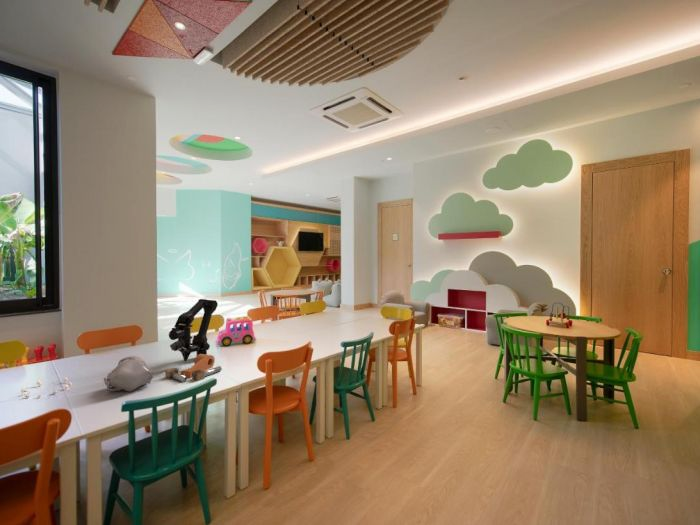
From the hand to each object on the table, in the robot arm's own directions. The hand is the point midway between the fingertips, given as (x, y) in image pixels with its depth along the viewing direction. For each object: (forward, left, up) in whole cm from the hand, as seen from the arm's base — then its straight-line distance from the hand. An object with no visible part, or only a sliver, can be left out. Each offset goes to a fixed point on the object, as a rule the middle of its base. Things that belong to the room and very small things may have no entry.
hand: (185, 360), depth 198 cm
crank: (+12, 0, -4) cm, 13 cm away
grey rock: (+6, -34, -4) cm, 35 cm away
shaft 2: (+24, -1, -4) cm, 24 cm away
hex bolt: (+14, -14, -4) cm, 20 cm away
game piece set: (-26, -57, -4) cm, 63 cm away
